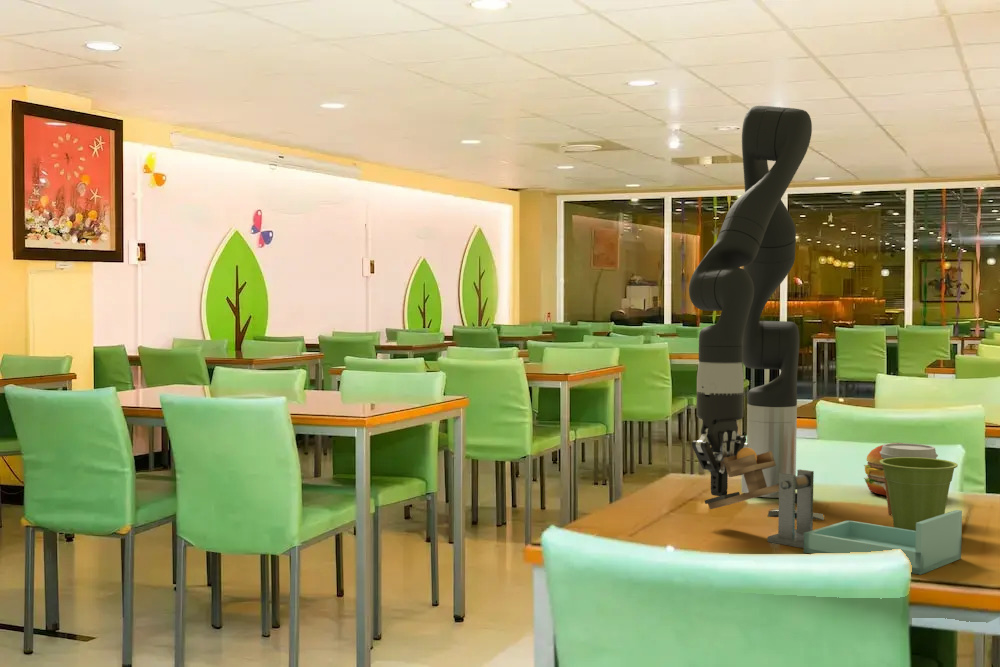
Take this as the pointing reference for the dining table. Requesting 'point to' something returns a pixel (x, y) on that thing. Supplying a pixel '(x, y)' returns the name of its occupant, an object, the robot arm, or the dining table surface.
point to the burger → (875, 472)
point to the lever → (751, 478)
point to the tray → (894, 540)
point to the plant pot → (917, 488)
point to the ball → (746, 453)
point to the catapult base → (787, 510)
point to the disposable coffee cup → (905, 451)
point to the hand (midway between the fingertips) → (718, 495)
